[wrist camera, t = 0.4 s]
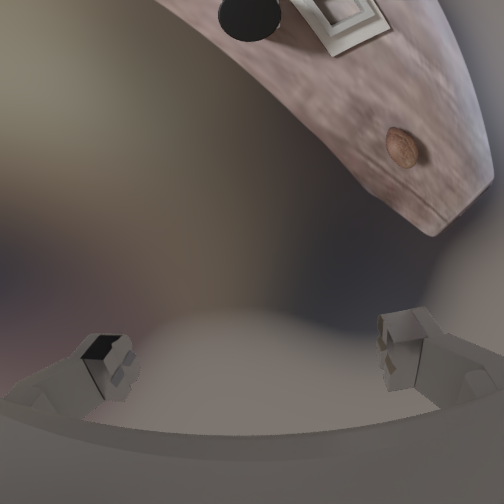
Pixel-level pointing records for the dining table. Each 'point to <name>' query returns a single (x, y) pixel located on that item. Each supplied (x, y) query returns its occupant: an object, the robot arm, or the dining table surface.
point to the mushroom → (401, 148)
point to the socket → (343, 25)
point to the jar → (249, 18)
